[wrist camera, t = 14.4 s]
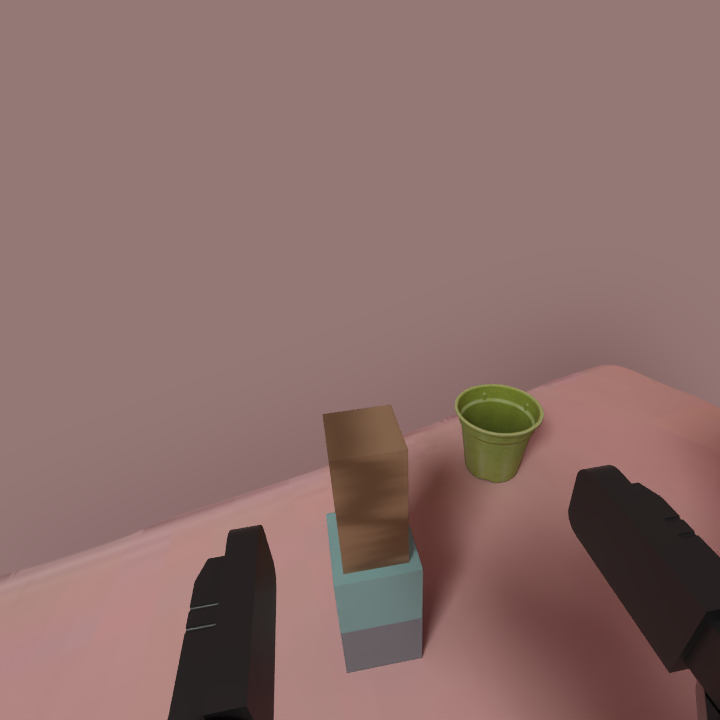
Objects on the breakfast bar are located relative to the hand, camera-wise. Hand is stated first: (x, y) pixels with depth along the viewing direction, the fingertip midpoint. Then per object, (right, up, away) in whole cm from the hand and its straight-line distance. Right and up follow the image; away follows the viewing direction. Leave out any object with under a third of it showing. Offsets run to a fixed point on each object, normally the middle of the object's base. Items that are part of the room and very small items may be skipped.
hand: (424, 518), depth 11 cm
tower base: (0, -19, +25) cm, 31 cm away
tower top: (-1, -14, +23) cm, 27 cm away
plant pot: (+14, -9, +41) cm, 44 cm away
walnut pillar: (-1, -9, +20) cm, 22 cm away
